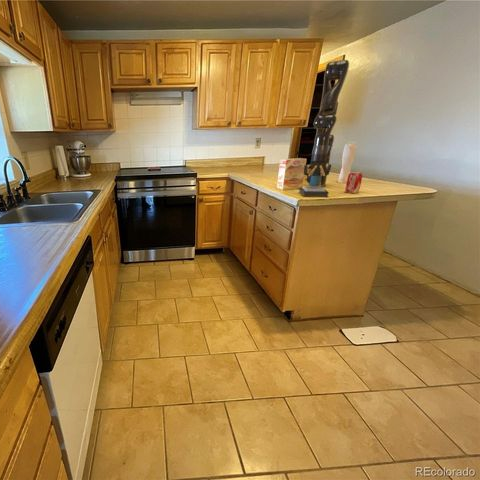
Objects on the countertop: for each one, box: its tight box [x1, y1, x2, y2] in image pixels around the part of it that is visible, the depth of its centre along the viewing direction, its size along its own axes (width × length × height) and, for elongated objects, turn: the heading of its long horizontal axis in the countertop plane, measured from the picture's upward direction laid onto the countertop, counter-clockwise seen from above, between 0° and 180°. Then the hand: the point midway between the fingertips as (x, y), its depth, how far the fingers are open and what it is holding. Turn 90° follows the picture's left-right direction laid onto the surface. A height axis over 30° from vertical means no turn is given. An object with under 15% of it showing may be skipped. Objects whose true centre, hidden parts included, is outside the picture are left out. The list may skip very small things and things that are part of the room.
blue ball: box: [308, 174, 322, 186], centre depth 157 cm, size 6×6×6 cm
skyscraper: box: [337, 141, 358, 184], centre depth 188 cm, size 8×8×28 cm
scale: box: [299, 187, 330, 198], centre depth 160 cm, size 14×13×3 cm
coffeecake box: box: [276, 157, 307, 191], centre depth 177 cm, size 15×7×20 cm, turn 101°
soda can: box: [344, 171, 363, 194], centre depth 159 cm, size 7×7×12 cm
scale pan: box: [302, 185, 327, 191], centre depth 159 cm, size 10×10×2 cm
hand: (314, 182), depth 158 cm, fingers closed on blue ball, 6 cm apart
